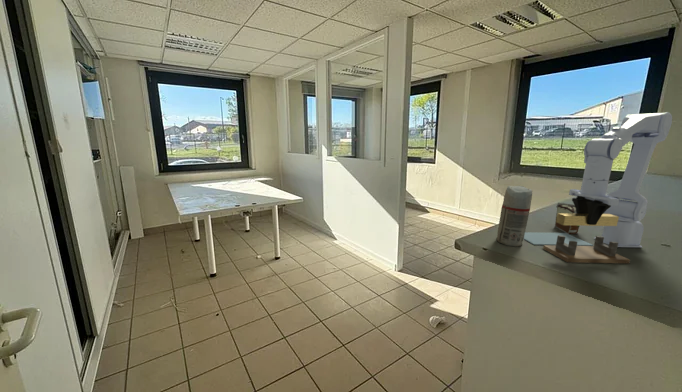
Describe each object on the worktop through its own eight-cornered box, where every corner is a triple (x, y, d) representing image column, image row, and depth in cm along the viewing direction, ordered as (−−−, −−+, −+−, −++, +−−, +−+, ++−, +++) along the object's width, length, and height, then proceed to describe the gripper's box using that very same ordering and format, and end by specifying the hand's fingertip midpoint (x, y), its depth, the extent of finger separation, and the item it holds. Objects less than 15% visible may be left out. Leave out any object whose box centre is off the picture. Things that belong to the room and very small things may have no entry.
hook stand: (598, 249, 89) (601, 233, 87) (629, 263, 79) (633, 245, 78) (543, 248, 89) (545, 232, 88) (567, 262, 79) (570, 244, 78)
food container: (589, 236, 101) (595, 211, 98) (570, 235, 102) (576, 210, 100) (569, 226, 112) (573, 203, 110) (552, 225, 114) (557, 202, 111)
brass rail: (607, 222, 84) (609, 213, 84) (616, 226, 82) (618, 216, 81) (555, 222, 85) (557, 213, 84) (563, 225, 82) (565, 215, 81)
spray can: (526, 242, 94) (535, 186, 90) (521, 249, 88) (531, 189, 84) (499, 236, 100) (506, 183, 96) (493, 242, 94) (500, 186, 90)
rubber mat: (565, 233, 103) (565, 232, 103) (593, 246, 92) (593, 245, 91) (512, 233, 104) (513, 232, 104) (533, 245, 92) (534, 243, 92)
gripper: (562, 175, 87) (555, 215, 90) (604, 183, 73) (594, 230, 76) (584, 176, 87) (576, 216, 90) (631, 183, 73) (619, 230, 76)
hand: (586, 222), depth 83 cm, fingers closed on brass rail, 3 cm apart
